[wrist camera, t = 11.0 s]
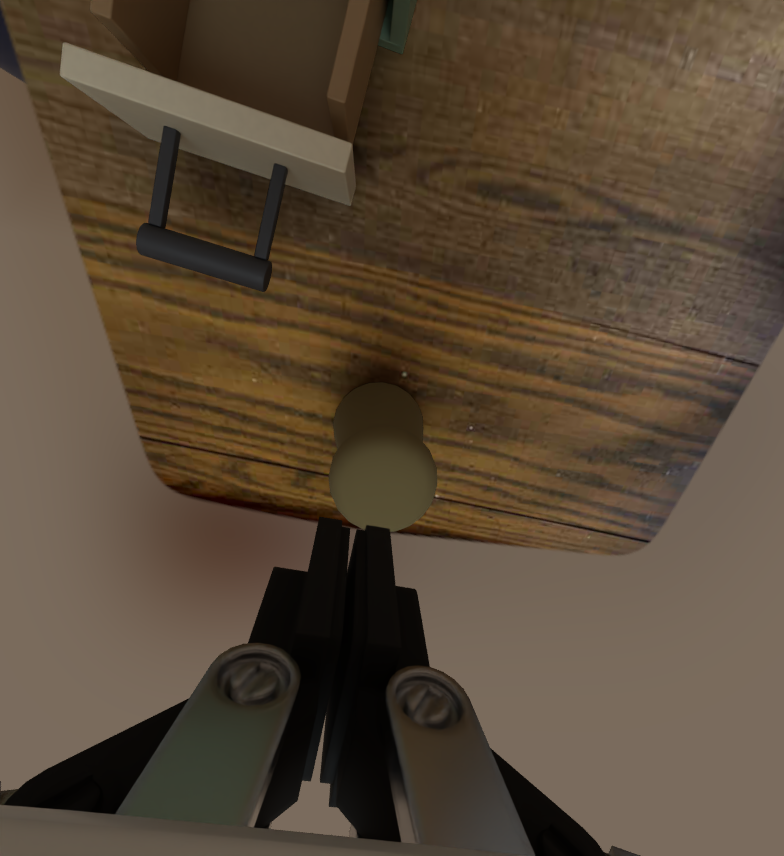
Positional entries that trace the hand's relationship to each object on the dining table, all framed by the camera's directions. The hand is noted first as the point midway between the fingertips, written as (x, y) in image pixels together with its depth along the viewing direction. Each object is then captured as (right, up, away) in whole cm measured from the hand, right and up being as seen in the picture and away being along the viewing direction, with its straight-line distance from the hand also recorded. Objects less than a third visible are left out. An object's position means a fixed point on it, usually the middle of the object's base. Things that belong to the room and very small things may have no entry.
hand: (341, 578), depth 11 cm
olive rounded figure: (0, +4, +21) cm, 21 cm away
